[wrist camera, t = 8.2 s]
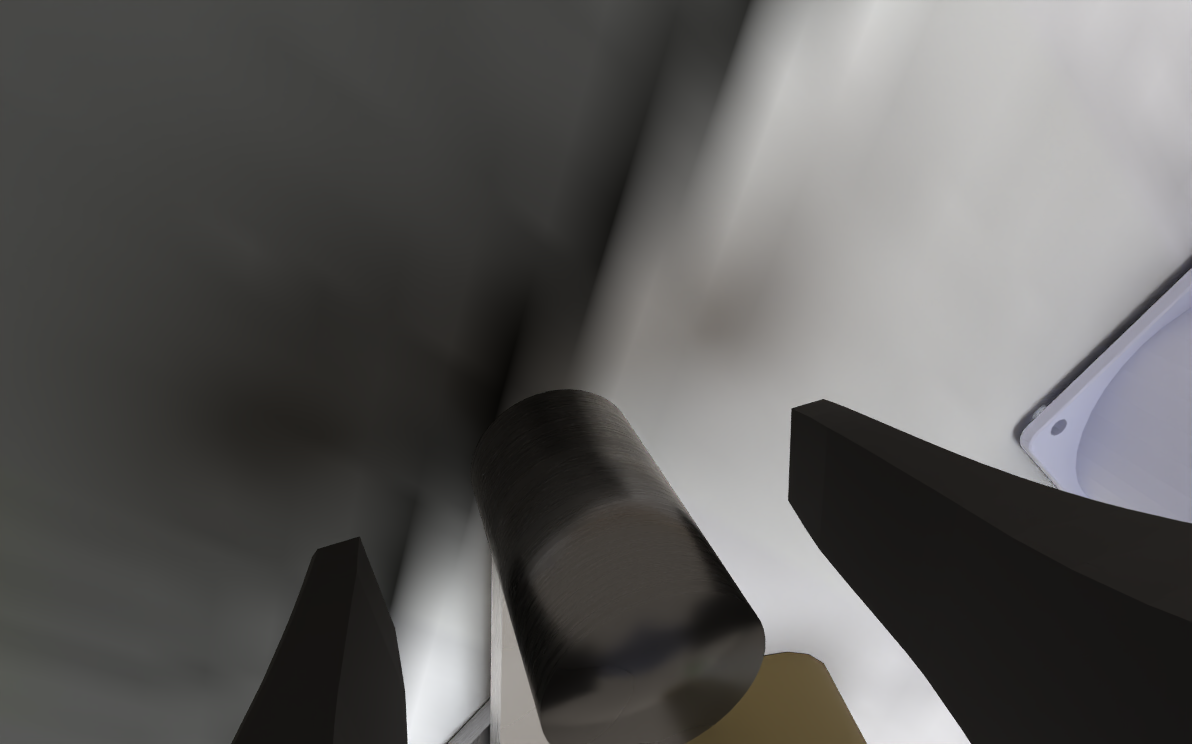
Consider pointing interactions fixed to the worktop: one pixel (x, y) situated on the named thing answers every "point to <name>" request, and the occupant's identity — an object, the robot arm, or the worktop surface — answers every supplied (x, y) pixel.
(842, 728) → the cork
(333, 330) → the worktop surface
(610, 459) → the lever
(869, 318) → the worktop surface
